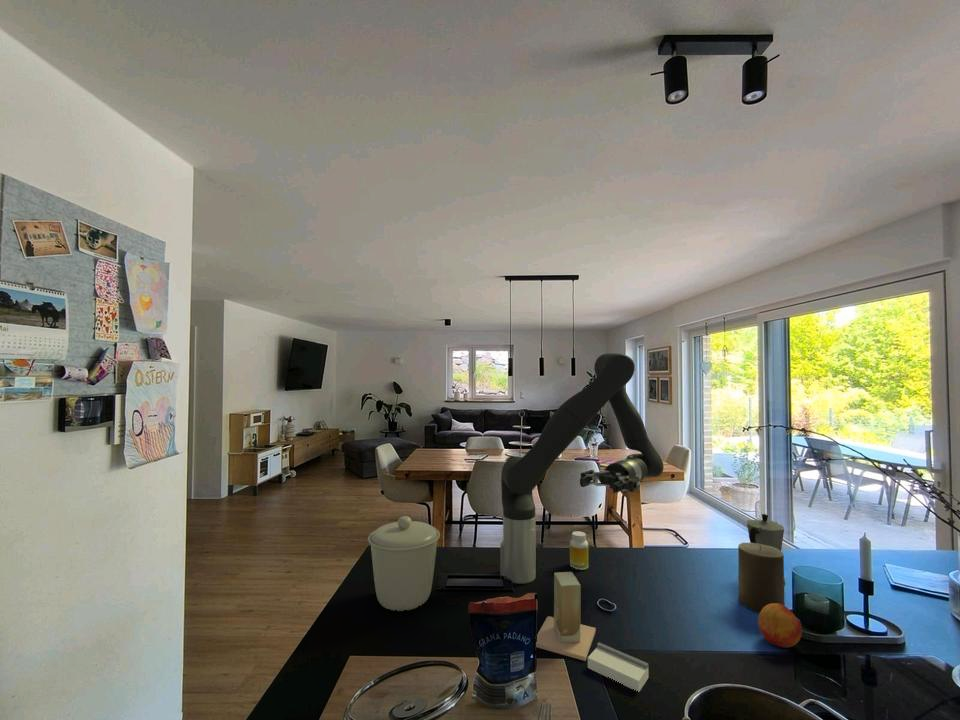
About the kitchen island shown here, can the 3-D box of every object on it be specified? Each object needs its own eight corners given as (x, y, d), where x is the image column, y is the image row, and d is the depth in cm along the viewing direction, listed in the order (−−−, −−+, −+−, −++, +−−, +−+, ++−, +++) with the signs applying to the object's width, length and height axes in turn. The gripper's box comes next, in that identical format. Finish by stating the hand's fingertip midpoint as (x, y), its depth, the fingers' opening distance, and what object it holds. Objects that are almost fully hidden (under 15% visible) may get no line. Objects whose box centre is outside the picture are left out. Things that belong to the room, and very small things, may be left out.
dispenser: (587, 667, 84) (587, 654, 84) (598, 655, 88) (598, 642, 88) (638, 692, 77) (638, 677, 78) (648, 677, 81) (648, 663, 81)
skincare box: (553, 626, 96) (553, 571, 97) (572, 625, 97) (571, 570, 97) (561, 644, 90) (561, 585, 90) (581, 643, 90) (581, 584, 91)
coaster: (533, 646, 91) (533, 642, 91) (547, 619, 101) (547, 616, 101) (585, 661, 86) (585, 657, 86) (595, 631, 96) (595, 627, 96)
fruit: (812, 658, 87) (811, 618, 87) (768, 653, 88) (767, 614, 89) (791, 635, 95) (790, 598, 95) (751, 631, 96) (750, 595, 96)
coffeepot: (758, 566, 129) (756, 506, 129) (795, 578, 121) (793, 514, 122) (733, 580, 120) (732, 515, 121) (771, 594, 112) (770, 525, 113)
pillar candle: (770, 619, 101) (769, 554, 101) (730, 600, 109) (729, 540, 110) (793, 609, 105) (792, 547, 106) (752, 591, 114) (752, 534, 114)
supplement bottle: (588, 571, 126) (588, 537, 126) (570, 569, 127) (569, 536, 127) (588, 563, 131) (587, 531, 131) (570, 561, 132) (569, 529, 132)
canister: (385, 580, 120) (386, 504, 120) (448, 587, 116) (448, 508, 117) (353, 615, 102) (354, 526, 103) (426, 625, 98) (426, 531, 99)
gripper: (598, 457, 123) (571, 466, 111) (649, 464, 114) (625, 474, 102) (599, 483, 123) (571, 495, 111) (649, 492, 114) (625, 506, 101)
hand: (597, 485), depth 106 cm, fingers open, 8 cm apart
